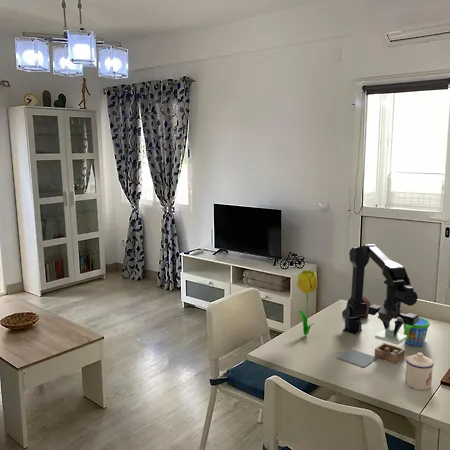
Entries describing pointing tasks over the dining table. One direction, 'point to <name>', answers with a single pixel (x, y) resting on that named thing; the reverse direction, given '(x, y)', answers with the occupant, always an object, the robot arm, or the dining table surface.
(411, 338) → the snack cup
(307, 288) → the flower
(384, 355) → the crate
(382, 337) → the lid
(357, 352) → the mat
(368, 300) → the muffin
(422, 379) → the teacup with lid
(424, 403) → the dining table surface
